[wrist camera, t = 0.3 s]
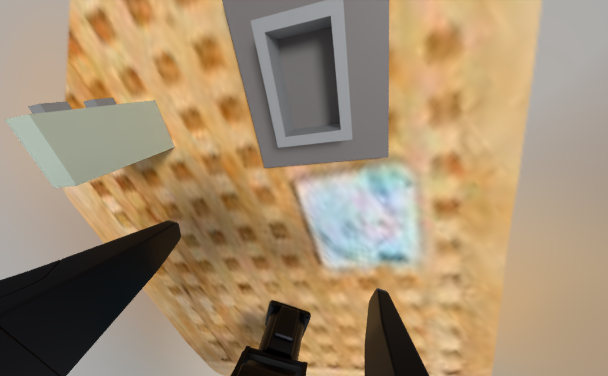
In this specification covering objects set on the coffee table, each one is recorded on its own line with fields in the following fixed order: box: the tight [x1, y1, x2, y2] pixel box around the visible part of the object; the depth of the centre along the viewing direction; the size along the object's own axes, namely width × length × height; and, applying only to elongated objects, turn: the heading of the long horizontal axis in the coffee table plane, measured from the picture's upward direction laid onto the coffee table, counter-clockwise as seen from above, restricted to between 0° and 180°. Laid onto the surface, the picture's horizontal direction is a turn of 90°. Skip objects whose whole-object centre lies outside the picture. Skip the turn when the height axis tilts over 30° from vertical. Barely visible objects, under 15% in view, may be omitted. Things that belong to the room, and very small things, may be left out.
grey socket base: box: [222, 0, 389, 168], centre depth 17 cm, size 12×14×4 cm
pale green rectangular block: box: [5, 98, 174, 188], centre depth 19 cm, size 2×6×10 cm, turn 9°
